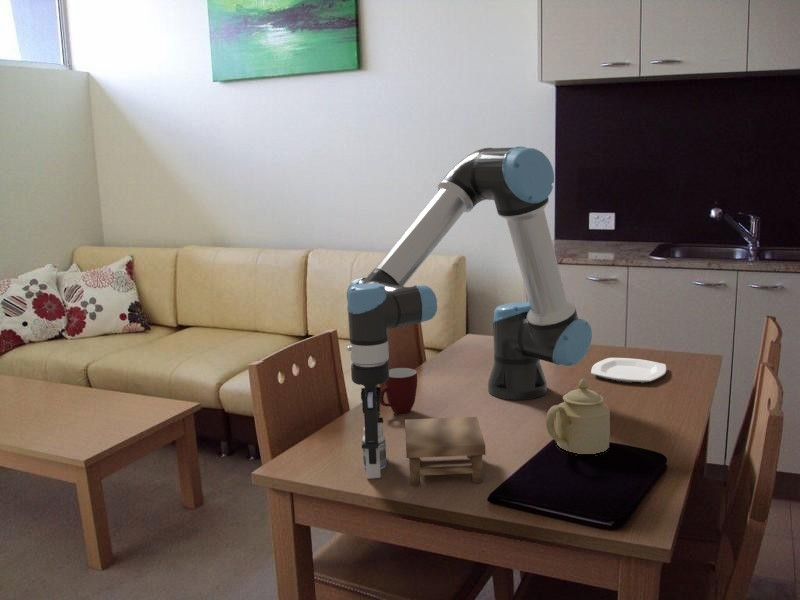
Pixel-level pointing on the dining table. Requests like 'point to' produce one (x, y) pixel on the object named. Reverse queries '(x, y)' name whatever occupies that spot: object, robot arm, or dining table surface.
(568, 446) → the sugar bowl
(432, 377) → the dining table surface
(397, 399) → the mug
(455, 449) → the small wooden bench
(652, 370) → the plate
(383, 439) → the pill bottle
